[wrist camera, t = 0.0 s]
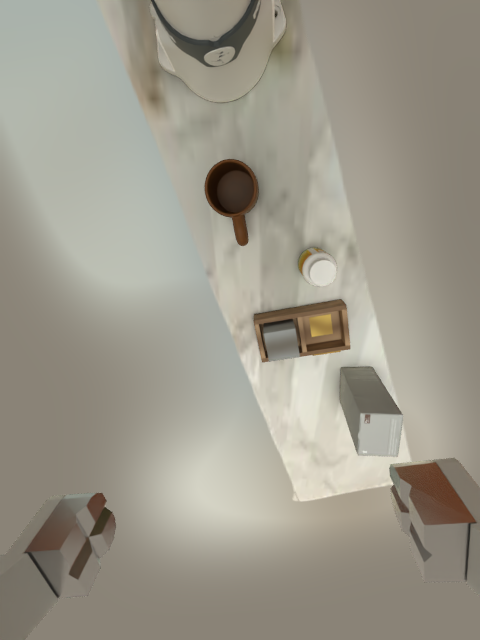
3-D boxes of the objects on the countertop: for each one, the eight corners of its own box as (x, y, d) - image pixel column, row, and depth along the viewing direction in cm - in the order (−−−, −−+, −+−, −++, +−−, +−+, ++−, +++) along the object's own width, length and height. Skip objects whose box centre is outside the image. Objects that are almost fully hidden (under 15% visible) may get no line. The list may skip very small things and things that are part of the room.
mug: (267, 236, 52) (268, 242, 43) (225, 245, 53) (218, 253, 44) (253, 161, 48) (251, 151, 39) (209, 173, 49) (197, 165, 40)
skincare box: (369, 400, 62) (403, 459, 47) (334, 400, 63) (356, 459, 48) (373, 364, 59) (410, 415, 44) (336, 364, 60) (360, 416, 45)
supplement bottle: (301, 281, 54) (309, 295, 45) (294, 252, 53) (300, 261, 44) (331, 272, 53) (345, 285, 44) (324, 243, 52) (337, 250, 43)
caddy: (254, 314, 57) (253, 327, 51) (341, 299, 55) (351, 310, 49) (262, 355, 60) (262, 371, 54) (345, 342, 58) (355, 358, 52)
